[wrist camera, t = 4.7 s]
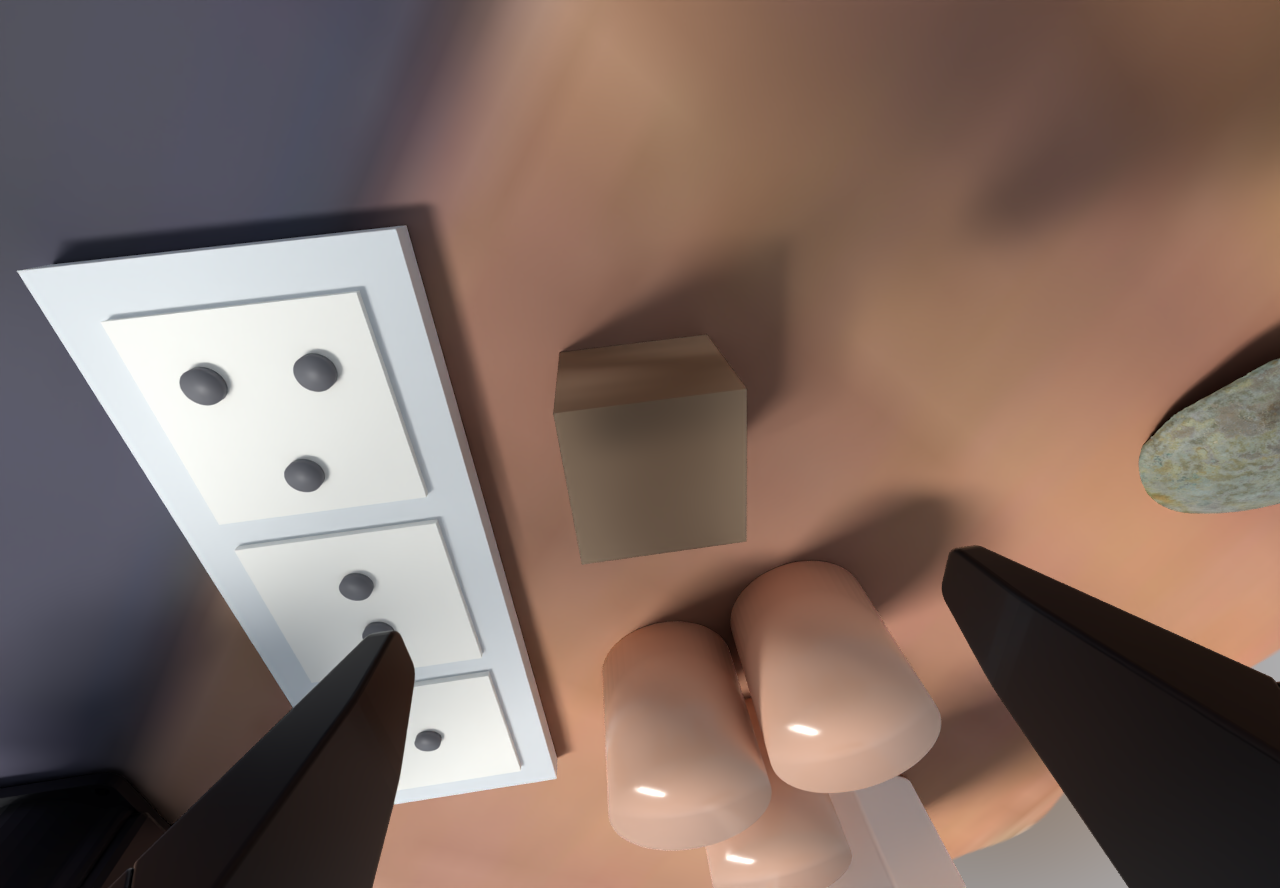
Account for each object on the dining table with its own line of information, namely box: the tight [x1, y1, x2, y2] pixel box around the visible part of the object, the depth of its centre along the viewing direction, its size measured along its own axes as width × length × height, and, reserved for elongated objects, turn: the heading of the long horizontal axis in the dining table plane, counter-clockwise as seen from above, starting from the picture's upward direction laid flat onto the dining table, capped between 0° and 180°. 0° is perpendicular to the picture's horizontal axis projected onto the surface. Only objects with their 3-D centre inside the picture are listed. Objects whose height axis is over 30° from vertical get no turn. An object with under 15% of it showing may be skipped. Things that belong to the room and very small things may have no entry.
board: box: [17, 225, 557, 804], centre depth 17 cm, size 8×21×1 cm, turn 5°
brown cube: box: [553, 334, 747, 564], centre depth 14 cm, size 4×4×4 cm
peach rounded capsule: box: [602, 621, 772, 851], centre depth 18 cm, size 5×5×5 cm
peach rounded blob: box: [730, 561, 941, 793], centre depth 18 cm, size 5×5×5 cm
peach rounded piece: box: [705, 698, 852, 888], centre depth 21 cm, size 5×5×5 cm
